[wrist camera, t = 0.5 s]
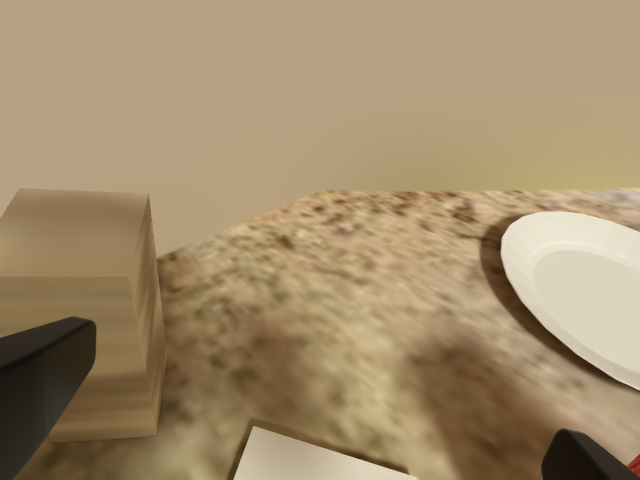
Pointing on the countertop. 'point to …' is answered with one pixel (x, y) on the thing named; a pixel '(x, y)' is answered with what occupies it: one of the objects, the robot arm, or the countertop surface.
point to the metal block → (90, 300)
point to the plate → (580, 285)
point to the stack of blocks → (635, 465)
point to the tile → (303, 461)
